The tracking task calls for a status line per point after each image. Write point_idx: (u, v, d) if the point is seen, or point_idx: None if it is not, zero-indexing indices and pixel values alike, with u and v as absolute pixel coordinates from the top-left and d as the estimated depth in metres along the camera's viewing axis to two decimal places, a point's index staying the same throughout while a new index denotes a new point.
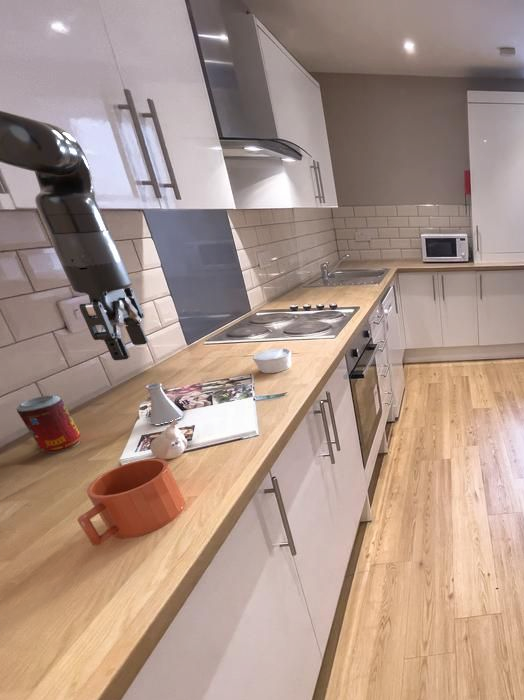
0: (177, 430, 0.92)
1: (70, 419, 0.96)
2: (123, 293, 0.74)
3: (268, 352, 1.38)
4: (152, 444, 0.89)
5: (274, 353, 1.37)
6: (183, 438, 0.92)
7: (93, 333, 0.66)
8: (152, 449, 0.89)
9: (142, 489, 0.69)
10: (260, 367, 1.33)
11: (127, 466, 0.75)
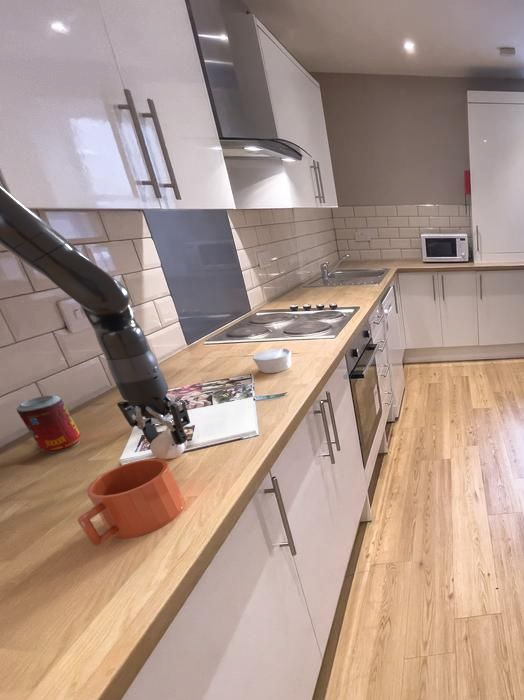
0: None
1: (70, 419, 0.96)
2: None
3: (268, 352, 1.38)
4: (152, 444, 0.89)
5: (274, 353, 1.37)
6: None
7: (181, 424, 0.87)
8: (152, 449, 0.89)
9: (142, 489, 0.69)
10: (260, 367, 1.33)
11: (127, 466, 0.75)
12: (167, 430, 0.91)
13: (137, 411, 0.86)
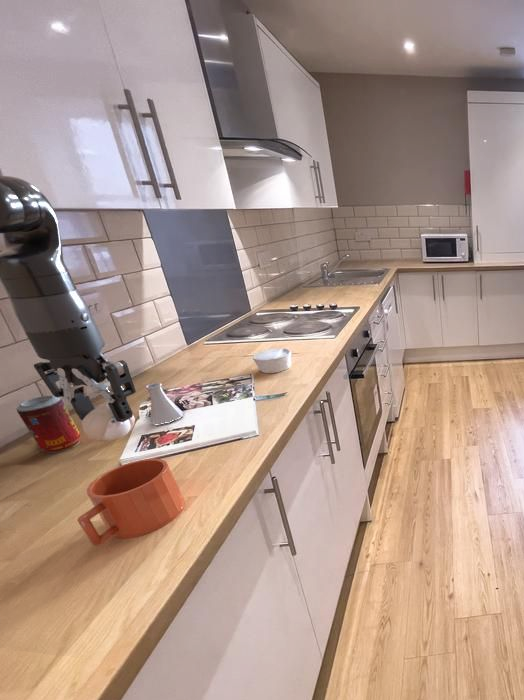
0: None
1: (70, 419, 0.96)
2: None
3: (268, 352, 1.38)
4: (84, 420, 0.66)
5: (274, 353, 1.37)
6: None
7: (122, 392, 0.65)
8: (84, 427, 0.66)
9: (142, 489, 0.69)
10: (260, 367, 1.33)
11: (127, 466, 0.75)
12: (106, 402, 0.68)
13: (60, 375, 0.64)
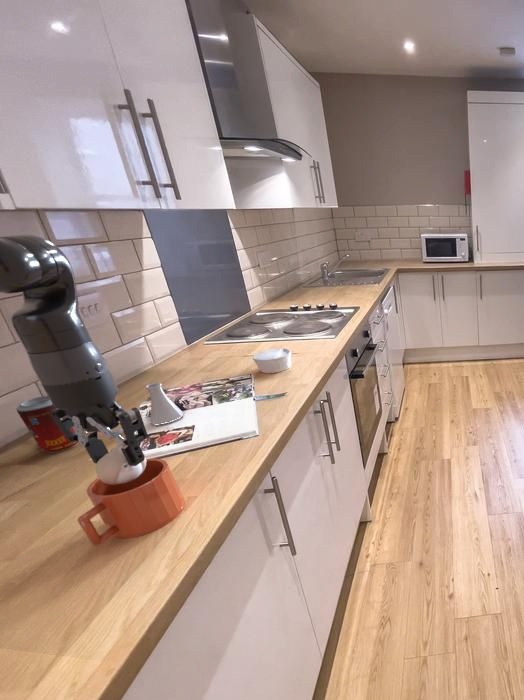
0: None
1: None
2: None
3: (268, 352, 1.38)
4: (97, 465, 0.68)
5: (274, 353, 1.37)
6: None
7: (135, 439, 0.66)
8: (97, 472, 0.68)
9: (142, 489, 0.69)
10: (260, 367, 1.33)
11: None
12: (119, 446, 0.70)
13: (75, 422, 0.65)
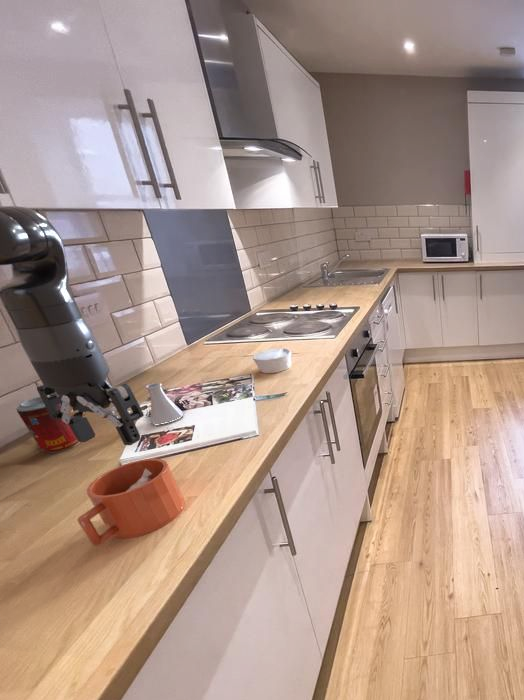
0: None
1: None
2: None
3: (268, 352, 1.38)
4: None
5: (274, 353, 1.37)
6: None
7: (129, 416, 0.65)
8: None
9: (142, 489, 0.69)
10: (260, 367, 1.33)
11: (127, 466, 0.75)
12: (137, 484, 0.73)
13: (65, 402, 0.63)
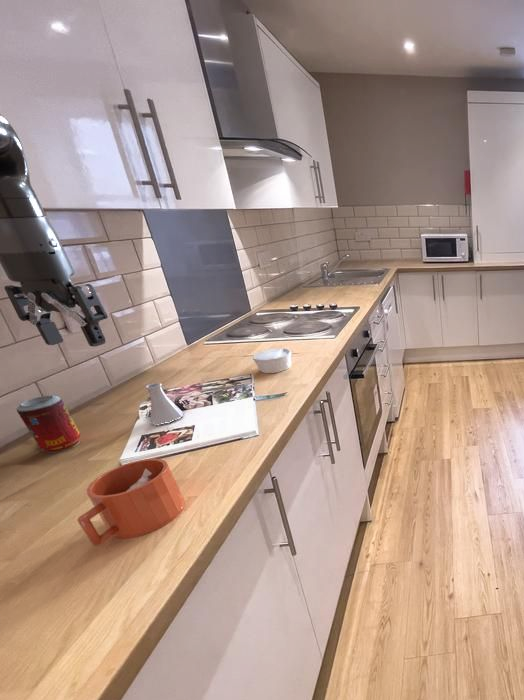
0: None
1: (70, 419, 0.96)
2: None
3: (268, 352, 1.38)
4: None
5: (274, 353, 1.37)
6: None
7: (92, 314, 0.68)
8: None
9: (142, 489, 0.69)
10: (260, 367, 1.33)
11: (127, 466, 0.75)
12: (137, 484, 0.73)
13: (31, 300, 0.67)
